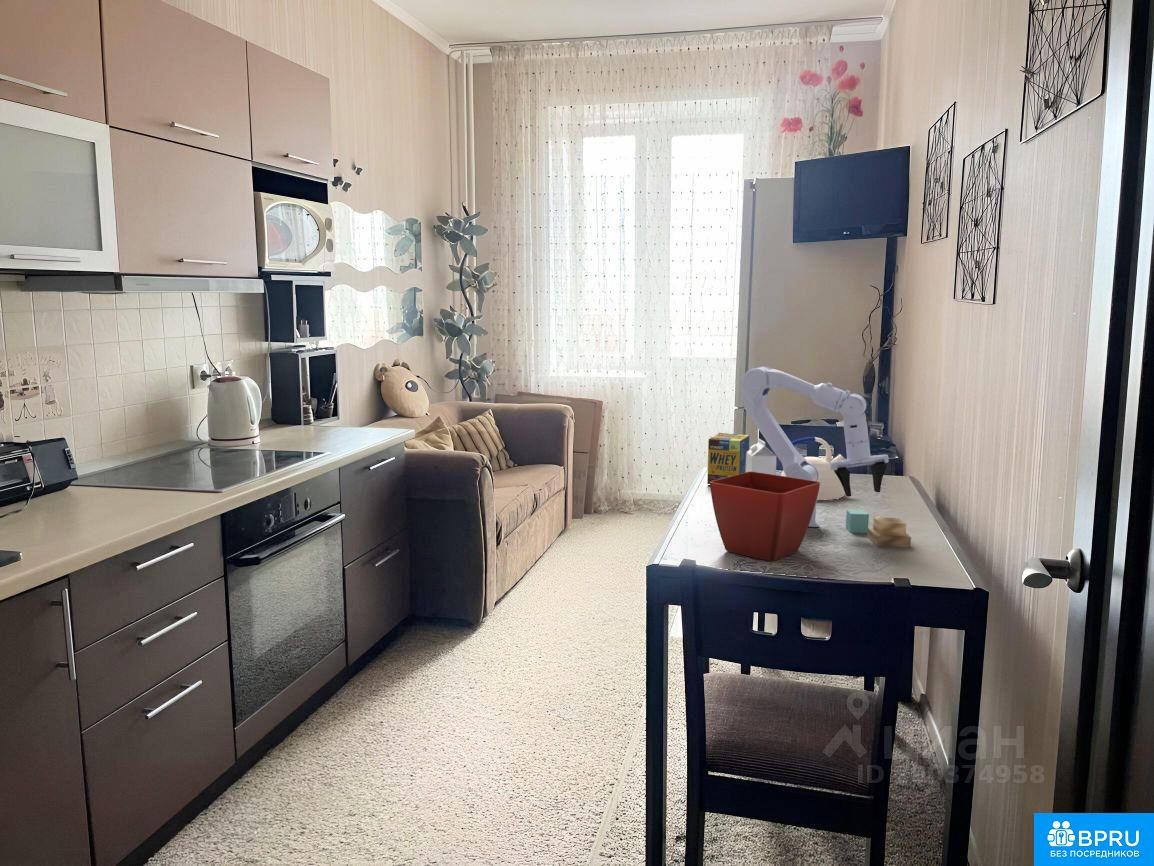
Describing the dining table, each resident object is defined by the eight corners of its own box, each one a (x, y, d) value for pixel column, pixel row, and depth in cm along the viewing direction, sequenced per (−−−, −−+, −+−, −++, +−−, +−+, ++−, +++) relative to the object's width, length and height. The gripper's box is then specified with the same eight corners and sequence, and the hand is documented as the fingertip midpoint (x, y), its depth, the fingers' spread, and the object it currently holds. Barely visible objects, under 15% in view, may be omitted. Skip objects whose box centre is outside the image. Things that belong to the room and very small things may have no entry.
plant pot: (819, 551, 201) (822, 480, 198) (779, 568, 187) (782, 493, 184) (748, 536, 213) (750, 470, 211) (705, 552, 199) (707, 481, 197)
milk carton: (768, 502, 253) (770, 438, 250) (774, 507, 246) (777, 442, 243) (744, 502, 252) (746, 438, 250) (750, 507, 245) (752, 442, 243)
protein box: (706, 486, 276) (708, 438, 274) (718, 477, 290) (719, 432, 288) (738, 488, 272) (740, 440, 270) (748, 480, 286) (750, 434, 284)
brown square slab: (876, 548, 205) (876, 536, 204) (867, 539, 213) (868, 528, 212) (910, 549, 204) (911, 537, 204) (900, 540, 212) (900, 528, 212)
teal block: (849, 532, 218) (850, 513, 217) (845, 528, 222) (846, 509, 221) (867, 533, 217) (868, 514, 217) (863, 528, 222) (864, 510, 221)
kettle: (854, 501, 254) (857, 441, 252) (784, 501, 255) (786, 441, 252) (835, 487, 274) (837, 432, 272) (770, 487, 275) (772, 432, 272)
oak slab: (880, 535, 206) (880, 523, 205) (873, 529, 211) (873, 517, 211) (905, 535, 205) (906, 523, 205) (897, 529, 211) (898, 517, 211)
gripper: (835, 446, 213) (841, 500, 214) (891, 438, 214) (897, 491, 215) (825, 444, 220) (831, 496, 221) (879, 436, 221) (885, 488, 222)
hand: (862, 493), depth 218 cm, fingers open, 7 cm apart
